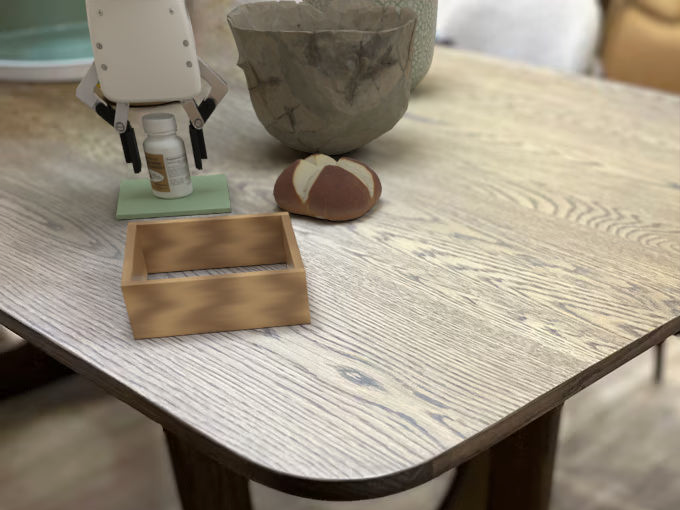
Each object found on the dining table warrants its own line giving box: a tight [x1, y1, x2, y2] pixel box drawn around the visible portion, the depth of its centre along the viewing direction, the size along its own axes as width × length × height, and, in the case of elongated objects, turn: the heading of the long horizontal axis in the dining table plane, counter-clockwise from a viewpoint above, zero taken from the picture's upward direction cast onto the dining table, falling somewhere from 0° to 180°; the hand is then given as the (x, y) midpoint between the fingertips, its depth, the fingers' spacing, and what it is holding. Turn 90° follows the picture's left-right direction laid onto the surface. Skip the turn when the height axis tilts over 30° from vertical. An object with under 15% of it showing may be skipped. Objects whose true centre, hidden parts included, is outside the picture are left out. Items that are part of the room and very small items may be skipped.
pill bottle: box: [141, 112, 193, 199], centre depth 92 cm, size 4×4×8 cm
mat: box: [115, 173, 232, 221], centre depth 95 cm, size 12×12×1 cm
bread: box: [272, 153, 383, 222], centre depth 92 cm, size 11×11×5 cm
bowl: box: [226, 0, 418, 156], centre depth 104 cm, size 22×22×15 cm
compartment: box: [120, 211, 312, 340], centre depth 74 cm, size 15×15×4 cm
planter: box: [301, 0, 439, 92], centre depth 127 cm, size 21×21×19 cm
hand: (168, 166), depth 93 cm, fingers open, 5 cm apart
